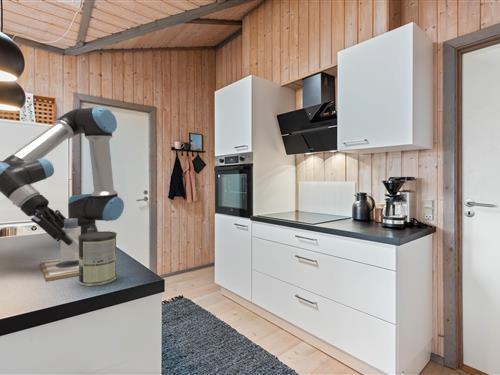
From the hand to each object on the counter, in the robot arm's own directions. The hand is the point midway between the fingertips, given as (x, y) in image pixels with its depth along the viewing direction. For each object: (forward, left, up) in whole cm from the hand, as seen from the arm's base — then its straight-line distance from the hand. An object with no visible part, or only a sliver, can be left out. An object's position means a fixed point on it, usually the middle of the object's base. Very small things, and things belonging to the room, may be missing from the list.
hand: (82, 248), depth 98 cm
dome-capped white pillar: (+1, -4, -4) cm, 5 cm away
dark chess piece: (-16, -9, -7) cm, 19 cm away
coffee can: (+11, +13, -7) cm, 19 cm away
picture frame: (+1, -4, -7) cm, 8 cm away
